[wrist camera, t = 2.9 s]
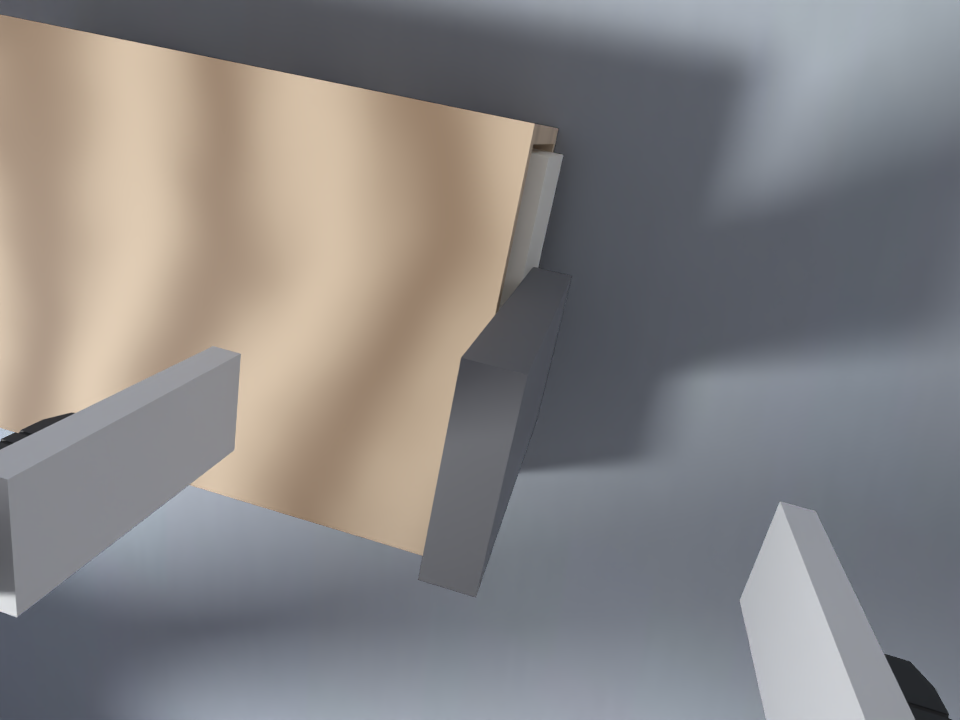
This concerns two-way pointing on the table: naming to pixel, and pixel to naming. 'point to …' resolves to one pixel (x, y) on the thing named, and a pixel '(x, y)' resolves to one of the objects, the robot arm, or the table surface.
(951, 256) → the table surface
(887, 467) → the table surface
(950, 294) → the table surface
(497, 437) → the tray
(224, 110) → the sleeve
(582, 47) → the table surface
